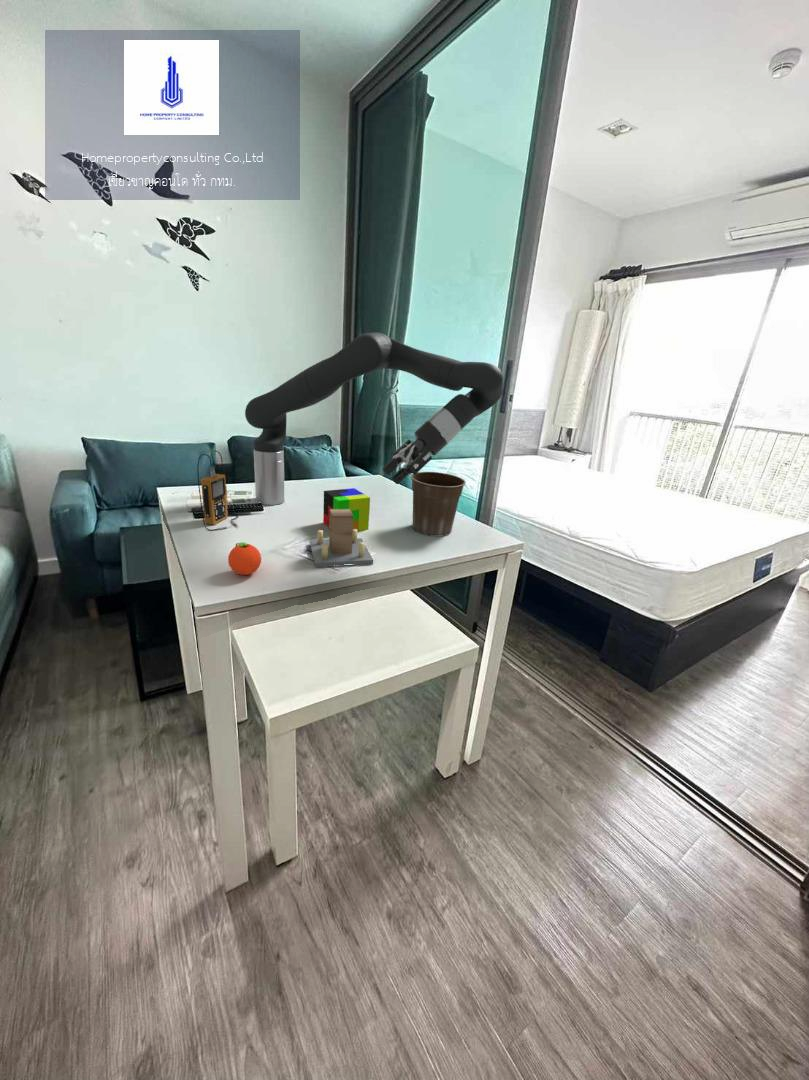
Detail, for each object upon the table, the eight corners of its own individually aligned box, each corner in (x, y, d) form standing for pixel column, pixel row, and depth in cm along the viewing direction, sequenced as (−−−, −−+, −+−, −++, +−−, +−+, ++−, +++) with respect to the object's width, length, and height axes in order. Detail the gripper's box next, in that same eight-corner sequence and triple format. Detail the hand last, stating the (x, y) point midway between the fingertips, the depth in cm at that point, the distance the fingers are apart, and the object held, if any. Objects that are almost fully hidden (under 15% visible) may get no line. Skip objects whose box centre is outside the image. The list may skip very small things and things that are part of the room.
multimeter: (229, 534, 118) (224, 460, 110) (196, 528, 119) (188, 455, 112) (257, 517, 131) (254, 451, 124) (227, 512, 133) (222, 446, 125)
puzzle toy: (352, 518, 137) (354, 488, 134) (368, 529, 130) (370, 497, 126) (323, 522, 132) (323, 490, 128) (337, 534, 124) (338, 500, 121)
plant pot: (469, 535, 132) (477, 483, 126) (425, 542, 124) (431, 487, 118) (438, 518, 145) (444, 470, 139) (396, 523, 137) (400, 473, 131)
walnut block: (329, 546, 113) (329, 509, 109) (348, 545, 114) (349, 509, 110) (331, 554, 108) (332, 516, 105) (351, 553, 110) (353, 515, 106)
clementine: (221, 569, 98) (219, 540, 96) (250, 562, 103) (249, 534, 100) (237, 583, 93) (235, 553, 91) (267, 575, 98) (266, 545, 95)
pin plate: (309, 544, 116) (309, 527, 114) (361, 542, 120) (362, 526, 118) (315, 567, 103) (315, 549, 102) (372, 564, 108) (374, 546, 106)
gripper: (419, 415, 111) (372, 459, 112) (439, 424, 99) (387, 473, 99) (436, 437, 115) (390, 479, 116) (458, 448, 102) (406, 495, 103)
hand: (389, 476), depth 108 cm, fingers open, 8 cm apart
